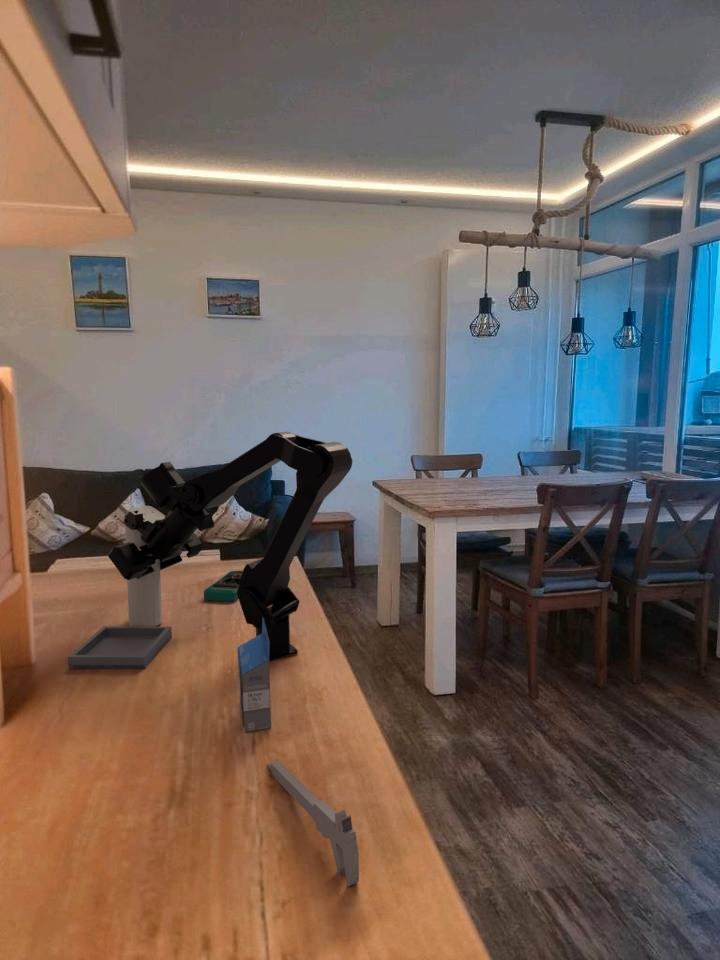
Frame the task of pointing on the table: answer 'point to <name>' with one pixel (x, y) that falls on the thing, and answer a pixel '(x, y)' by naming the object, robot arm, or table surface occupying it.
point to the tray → (120, 647)
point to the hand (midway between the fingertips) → (137, 577)
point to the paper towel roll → (144, 591)
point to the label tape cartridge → (255, 683)
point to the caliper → (324, 822)
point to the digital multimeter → (224, 588)
